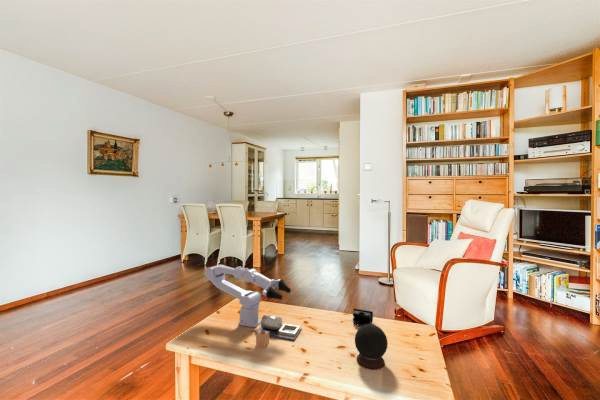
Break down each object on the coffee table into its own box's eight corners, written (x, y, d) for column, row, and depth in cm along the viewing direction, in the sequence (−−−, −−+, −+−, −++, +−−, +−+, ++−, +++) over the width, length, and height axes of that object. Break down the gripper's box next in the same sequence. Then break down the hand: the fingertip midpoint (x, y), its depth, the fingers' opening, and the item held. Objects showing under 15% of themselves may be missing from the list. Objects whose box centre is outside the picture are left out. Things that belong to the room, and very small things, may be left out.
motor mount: (255, 334, 141) (255, 320, 141) (265, 323, 152) (265, 310, 152) (294, 340, 135) (294, 326, 135) (301, 329, 146) (301, 315, 146)
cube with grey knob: (256, 345, 130) (256, 332, 130) (260, 340, 135) (260, 327, 135) (265, 347, 129) (265, 333, 129) (269, 342, 133) (269, 329, 133)
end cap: (373, 322, 157) (373, 309, 157) (370, 327, 150) (371, 314, 150) (354, 318, 161) (354, 306, 160) (351, 323, 154) (352, 311, 154)
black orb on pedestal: (386, 355, 124) (387, 321, 123) (387, 374, 111) (388, 335, 111) (355, 350, 127) (356, 317, 127) (352, 367, 115) (353, 330, 114)
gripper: (256, 281, 141) (279, 293, 135) (273, 270, 153) (295, 281, 147) (254, 293, 143) (276, 306, 137) (271, 281, 155) (292, 293, 149)
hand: (286, 294), depth 142 cm, fingers open, 7 cm apart
